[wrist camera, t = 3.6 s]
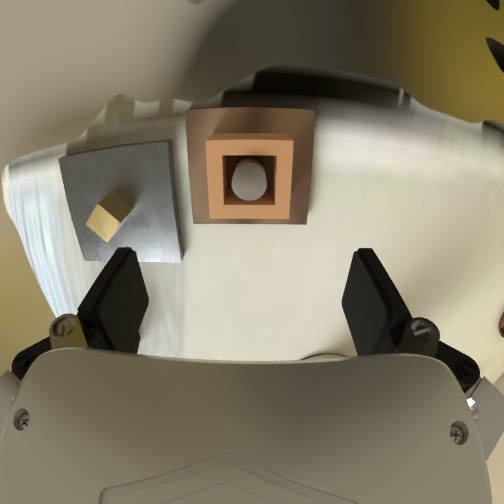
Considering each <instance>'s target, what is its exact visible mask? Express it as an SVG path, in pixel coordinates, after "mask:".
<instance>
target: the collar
mask: <svg viewBox="0 0 504 504" xmlns="http://www.w3.org/2000/svg"><path fill="white" fill-rule="evenodd" d="M293 143H294V141H293V140H292V138H291V137H290V136H289V135H288V134H268V133H226V134H212V135H211V136H210V137H209V138H208V139H207V140H206V163H207V182H208V199H209V214H210V219H289V212H290V197H291V181H292V163H293ZM227 155H272V156H273V178H272V190H266V191H265V192H264V194H263V195H262V196H261V197H260V198H258V199H256V200H252V201H247V200H243V199H240V198H239V197H238V196H236V195H235V193H234V192H233V190H228V183H227Z"/></svg>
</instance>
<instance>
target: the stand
mask: <svg viewBox="0 0 504 504" xmlns="http://www.w3.org/2000/svg"><path fill="white" fill-rule="evenodd" d="M185 111H186V134H187V151H188V166H189V179H190V192H191V203H192V213H193V223H194V224H304V225H306V223H307V213H308V203H309V192H310V181H311V169H312V156H313V141H314V124H315V110H308V109H295V108H274V107H223V108H202V109H189V110H185ZM226 133H268V134H288V135H289V136H290V137H291V138H292V140H293V141H294V143H293V163H292V181H291V197H290V212H289V219H210V214H209V199H208V182H207V163H206V140H207V139H208V138H209V137H210V136H211V135H212V134H226ZM272 178H273V156H272V155H227V183H228V190H233V192H234V193H235V195H236V196H238V197H239V198H240V199H243V200H247V201H252V200H256V199H258V198H260V197H261V196H262V195H263V194H264V192H265V191H266V190H272Z"/></svg>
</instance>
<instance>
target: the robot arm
mask: <svg viewBox="0 0 504 504" xmlns="http://www.w3.org/2000/svg"><path fill="white" fill-rule="evenodd" d="M148 303H149V298H148V294H147V291H146V287H145V284H144V280H143V277H142V273H141V269H140V266H139V262H138V258H137V254H136V251H134V250H132V248H131V247H118V248H117V250H116V251H115V252H114V254H113V255H112V257H111V258H110V260H109V261H108V263H107V264H106V265H105V267H104V268H103V270H102V271H101V273H100V274H99V276H98V277H97V279H96V280H95V282H94V283H93V285H92V287H91V288H90V290H89V291H88V293H87V294H86V296H85V298H84V299H83V301H82V302H81V304H80V306H79V307H78V311H79V312H78V313H77V315H74V314H71V313H70V314H64V315H61V316H59V317H57V318H56V319H55V320H54V321H53V323H52V324H51V326H50V328H49V335H50V336H49V337H47V338H45V339H43V340H41V341H40V342H38V343H36V344H34V345H32V346H30V347H28V348H26V349H25V350H23V351H21V352H20V353H18V354H17V355H16V357H15V358H14V360H13V363H12V371H10V370H7V371H6V372H5V373H4V374H3V375H2V376H0V504H492V495H491V487H490V481H489V475H488V469H487V464H486V460H487V459H488V457H489V456H490V454H491V452H492V451H493V449H494V447H495V446H496V444H497V442H498V441H499V439H500V437H501V435H502V433H503V431H504V395H503V394H502V393H501V392H500V391H499V390H498V389H497V388H496V387H495V386H494V385H493V384H492V383H491V382H490V381H489V380H487V379H486V378H485V377H483V378H481V377H480V370H479V367H478V365H477V363H476V362H475V361H474V360H473V359H472V358H471V357H469V356H467V355H465V354H463V353H462V352H460V351H458V350H456V349H454V348H452V347H450V346H449V345H447V344H445V343H443V342H441V341H439V339H440V332H439V329H438V328H437V326H436V325H435V324H434V323H433V322H432V321H430V320H428V319H426V318H422V317H417V318H412V316H411V314H410V312H409V310H408V308H407V306H406V305H405V303H404V301H403V299H402V297H401V296H400V294H399V292H398V290H397V289H396V287H395V285H394V283H393V282H392V280H391V278H390V277H389V275H388V273H387V272H386V270H385V268H384V267H383V265H382V263H381V262H380V260H379V259H378V257H377V255H376V254H375V252H374V251H373V249H372V248H359V249H358V250H357V251H355V252H354V254H353V258H352V262H351V266H350V270H349V274H348V278H347V282H346V286H345V290H344V294H343V297H342V307H343V310H344V313H345V316H346V319H347V322H348V326H349V329H350V332H351V335H352V338H353V341H354V344H355V348H356V351H357V354H358V356H356V357H344V356H341V355H334V354H327V355H319V356H314V357H311V358H308V359H305V360H293V361H223V360H201V359H185V358H172V357H161V356H151V355H142V354H134V353H130V352H131V349H132V346H133V343H134V341H135V338H136V335H137V333H138V330H139V327H140V325H141V322H142V319H143V317H144V314H145V312H146V309H147V307H148Z"/></svg>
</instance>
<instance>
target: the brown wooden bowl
mask: <svg viewBox="0 0 504 504" xmlns="http://www.w3.org/2000/svg"><path fill="white" fill-rule="evenodd" d="M499 332H500V334H501V336H502V337H503V338H504V314H503V316H502V317H501V319H500V322H499Z"/></svg>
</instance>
